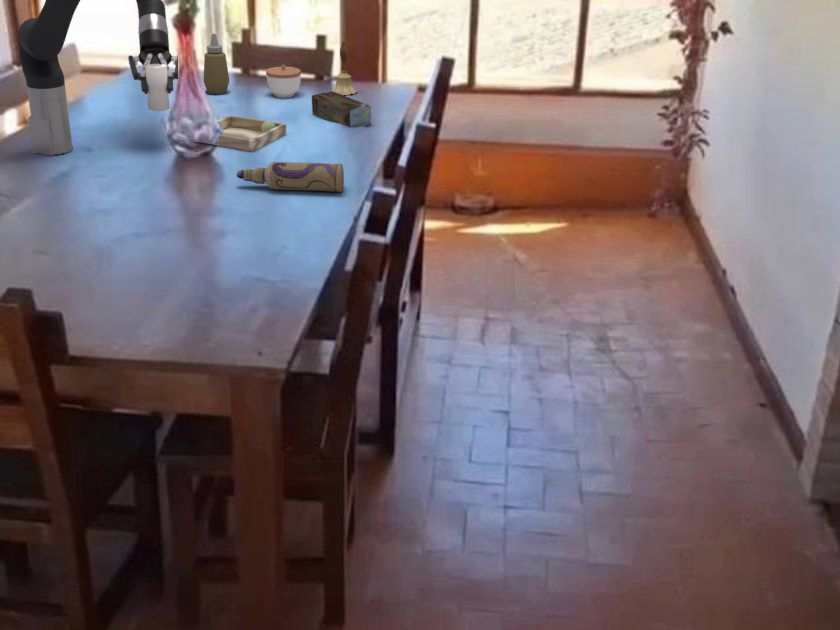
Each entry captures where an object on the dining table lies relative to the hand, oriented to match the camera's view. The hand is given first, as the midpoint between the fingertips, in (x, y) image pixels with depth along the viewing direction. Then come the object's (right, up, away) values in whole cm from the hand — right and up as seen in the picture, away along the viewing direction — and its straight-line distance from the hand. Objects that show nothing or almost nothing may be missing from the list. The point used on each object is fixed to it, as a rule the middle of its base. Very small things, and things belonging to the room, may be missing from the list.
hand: (157, 91), depth 275 cm
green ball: (+26, -9, +17) cm, 32 cm away
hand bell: (+44, +13, +63) cm, 78 cm away
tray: (+19, -10, +14) cm, 26 cm away
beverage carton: (+45, -1, +35) cm, 57 cm away
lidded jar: (+25, +11, +58) cm, 64 cm away
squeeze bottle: (+4, +12, +59) cm, 60 cm away
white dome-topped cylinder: (-1, -4, +4) cm, 5 cm away
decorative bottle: (+38, -27, -18) cm, 50 cm away
